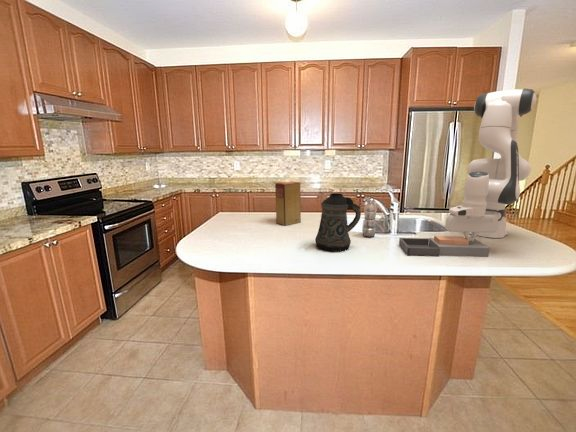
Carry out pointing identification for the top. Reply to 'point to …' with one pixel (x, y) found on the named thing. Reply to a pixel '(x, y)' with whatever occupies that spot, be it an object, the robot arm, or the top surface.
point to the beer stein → (336, 223)
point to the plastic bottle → (370, 218)
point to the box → (418, 247)
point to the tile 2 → (460, 240)
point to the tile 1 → (444, 240)
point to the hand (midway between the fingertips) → (469, 241)
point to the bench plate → (461, 249)
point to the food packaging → (288, 203)
